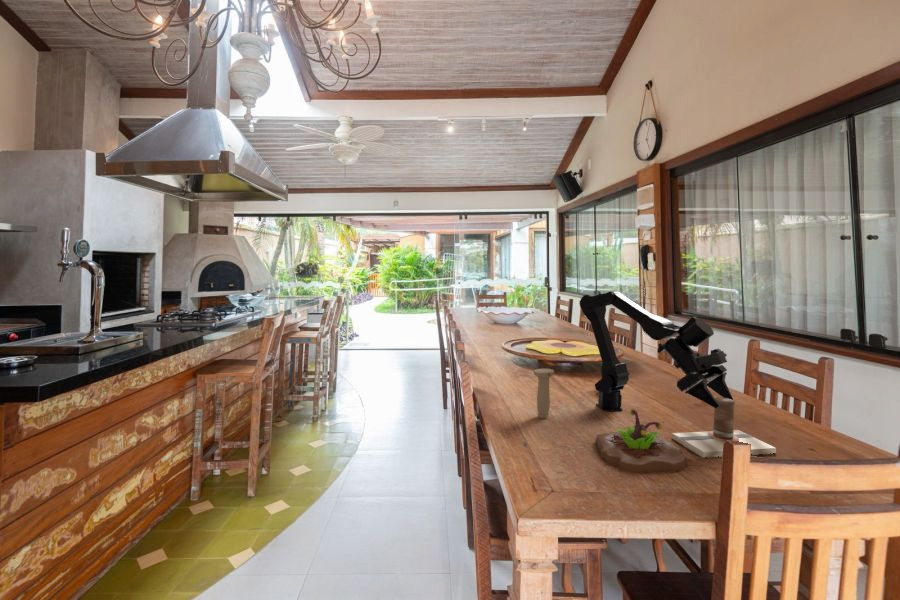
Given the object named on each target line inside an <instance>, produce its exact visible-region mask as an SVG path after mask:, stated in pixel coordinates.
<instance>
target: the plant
mask: <svg viewBox="0 0 900 600" xmlns="http://www.w3.org/2000/svg"><path fill="white" fill-rule="evenodd" d="M629 414H630V415H631V416H635V424H634V425H633V424H632V426H630V427H631V428H629V427H627V426H625V427H624V430H623V429H621V428H618V427H617V428H616V431H613V432H609V433H608V432H606V433H599V434H598V433H597V434H596V436H595V437H596V438H595V444H596V446H597V447H598V451H599V452H600V453H601V455H600V458H602V459H604V460H605V461H606V462H607V463H608V464H610V465H614V466H618V467H619V469H620V470H622V471H626V472H629V471H630V473H636V474H643V473H645V474H646V473H652V472H670V471H671V473H672V472H673V473H676V472H678V471H681V469H682V470H683V469H684V468H685V467H687V466H688V457H687V456H685V455H684V454H682V451H681V449H680V448H678V447H677V446H675V445H673V444H671V443H670V442H669V441H667V440H666V439H665V438H663V437H661V436H658V435H659V432H658V431H653V432H652V431H651V432H649V433H648V431H647V429H648V428H649V427H650V426H652V425H655V427H656V429H657V430H662V428H663V427H662V424H661V423H660V422H657V421H650V422H648V423H646V424H645V425H644V424H643V423H642V424H641V423H640V422H641V421H640V418H639V415H638V412H637V410H636V409H633V408H632V409H630V411H629ZM677 470H678V471H677Z"/></svg>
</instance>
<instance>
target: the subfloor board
mask: <svg viewBox="0 0 900 600" xmlns="http://www.w3.org/2000/svg"><path fill="white" fill-rule="evenodd" d="M733 431H734V436H733V439H731V440H732V441H739V442H743V443H748V444H751V454H752V455H751V456H760V455H759V454H763V455H765V454H764V453H767V454H766V455H774V454H773V453H776V454H777V447H775V446H773V445H771V444H769V443H766V442H765V441H762V440H760V439H758V438H757V437H754V436H752V435H750V434H748V433H745V432H744V431H741V430H739V429H733ZM671 435H672V436H671V439H673V440H674V441H675V442H678V443H679V444H680V445H683V447H685V448H687V449H688V450H690V451H692V452H693V453H694V454H696V455H698V456H700V457H701V458H704V459H705V457H707V458H722V451H723V443H724V442H725V441H727V440H726V439H720V438H717V437H715V436H714V435H713V430H711V431H693V432H692V431H689V432H687V431H686V432H672V433H671ZM770 453H771V454H770ZM718 456H719V457H718Z"/></svg>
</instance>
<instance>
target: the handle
mask: <svg viewBox="0 0 900 600" xmlns="http://www.w3.org/2000/svg"><path fill="white" fill-rule="evenodd" d="M533 375H534V377H535V376H536V377H537V378H538V381H537V383H538V384H537V394H536V395H537V397H536V407H537V409H536V410H537V417H538V418H539V419H545V420H546V419H547V418H549V414H550V413H549V412H550V406H551V405H550V404H551V397H550V395H551V393H550V392H551V391H550V378H551V377H553V376H554V375H555V370H554V369H551V368H537V369H534V370H533Z"/></svg>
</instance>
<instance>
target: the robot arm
mask: <svg viewBox="0 0 900 600" xmlns="http://www.w3.org/2000/svg"><path fill="white" fill-rule="evenodd" d="M607 306H613V307H615V308H616V309H618V310H619V312H622V313H623V314H625V315H626V316H627V317H628V318H630V319H632V320H633V321H635V322H636V323H637V324H638V325H639V326H641V329H642V331H643V332H644V333H645V334H646V335H647V336H648V337H649V338H651V340H654V341H661V340H662V341H663V340H666V341H664V342H661V343H657V344H658V346H657V353H658V354H660V353H665V352H666V353H667V354H668V355H669V357H670V358H671V359H672V360H673V361H674V363H676V365H675V368H676V369H677V370H678V369H681V370H682V371H683V373H684V374H685V375H684V376H683V377H681V378H680V379H679V380H677V381H676V388H677V389H678V390H679V391H680V392H681V393H683V392H684V393H685V394H688V395H690V396H692V397H694V398H696V399H698V400H700V401H702V402H704V403H705V404H707V405H709V406H710V407H712V408H713V409H714V408H717V407H719V405H718V403H717V401H716V400H715V398H716V397H714V395H713V394H712V392H711V391H710V389H711V390H712V391H714V392H715V393H716V394H717V395H719V396H720V397H721V398H728V399H732V400H734V397H733V396H732V393H731V391H730V389H729V387H728V385H727V382H726V375H727V371H728V369H727V368H726V367H725V366H724V365H723V364H725V363H728V360H727V358H726V357H727V353H725V352H724V350H721V349H720V348H715V349H711V350H710V354H706V355H702V353H700V352H695V351H694V349H692V348H691V347H695V348H697V347H699V346H700V345H702V344H703V343H704V342H705V341H707V340H708V339H709V338H711V337H712V336H713V335H714V333H715V331H714V330H713V328H712V327H711V326H710V325H709V324H708V323H706V322H705V321H703V320H702V319H699V318H698V317H697V316H692V317H691V318H689V319H688V321H687V322H686V323H685V324H682V326H681V325H677V324H675V323H674V322H672V321H671V320H669V319H668V318H665V317H663V316H660V315H657V314H653V313H651V312H649V311H648V310H646V309H645V308H643V307H641V306H640V305H639V304H637V303H635V301H633V300H631V299H629V298H628V297H627V296H625V295H624V294H622V292H620V291H618V290H614V291H613V290H612V291H607V292H605V293H600V294H598V293H597V294H585V295H582V296H581V299H580V300H579V308H580V310H581V312H582V313H583V315H584V316H585V318H586V319H587V320H588V321H589V322H590V326H591V329H592V333H593V335H594V339H595V342H596V345H597V349H598V351H599V355H600V358H601V362H602V363H601V368H600V369H601V370H600V375H601V378H600V379H599V380H598V381H597V382H596V383H594V387H595V391H597V392H598V395H597V396H598V397H597V398H598V400H597V402H598V403H595V405H596V407H597V408H599V409H600V410H602V411H604V412H615V411H617V412H618V411H621V412H623V408H622V400H623V399H622V395H623V394H622V393H621V392H622V390H624V388H625V385H627V384H628V382H629V379H630V377H629V376H630V375H631V374H630V373H629V371H628V365H627V364H626V362H620V360H619V359H618V357H617V353H616V350H615V348H614V344H613V341H612V338H611V334H610V331H609V328H608V324H607V321H606V313H607ZM674 336H676V337H674ZM667 339H668V340H667ZM620 390H621V391H620Z"/></svg>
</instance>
